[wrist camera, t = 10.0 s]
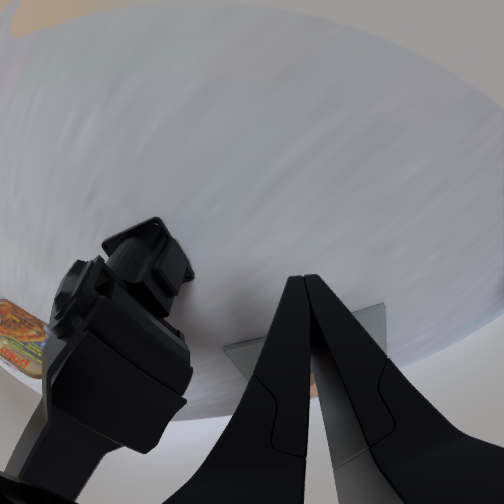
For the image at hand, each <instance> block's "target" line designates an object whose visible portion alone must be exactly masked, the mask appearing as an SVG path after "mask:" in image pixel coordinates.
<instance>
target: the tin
mask: <svg viewBox="0 0 504 504" xmlns="http://www.w3.org/2000/svg"><path fill="white" fill-rule="evenodd" d="M52 333H53V332H52V331H51V330H49V325H48V324H46V323H45V322H43V321H41V320H39V319H38V318H36V317H34V316H32V315H31V314H29V313H27V312H26V311H24V310H22V309H21V308H19V307H18V306H16V305H15V304H13V303H12V302H10V301H7V300H3V299H0V358H1V359H2V360H4V361H5V362H7V363H8V364H10V365H11V366H13V367H14V368H16V369H17V370H19V371H21V372H22V373H24V374H25V375H27V376H29V377H31V378H35V379H42V350H43V347H44V345H45V344H46V342H47V341H48V339H49V337H50V336H51V334H52Z"/></svg>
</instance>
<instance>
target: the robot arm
mask: <svg viewBox="0 0 504 504" xmlns="http://www.w3.org/2000/svg"><path fill="white" fill-rule="evenodd" d="M153 222H156V223H157V224H158V225H155V224H154V223H153ZM106 244H107V245H108V246H109V247H108V246H107V245H106ZM102 248H103V250H104V251H105V253H106V254H107V255H108V257H109V259H108V261H107V262H106V263H105V260H104V259H103V258H102V257H101V256H100V255H98V256H97V257H96V258H95V259H94V260H91V261H89V262H88V261H87V262H85V261H81V260H77V261H76V262H75V263H74V264H73V265H72V267H71V268H70V269H69V271H68V272H67V274H66V275H65V276H64V278H63V280H62V281H61V283H60V286H59V288H58V290H57V293H56V295H55V298H54V303H53V306H52V311H51V317H50V322H49V330H51V331H52V332H53V333H52V334H51V336H50V337H49V339H48V341H47V342H46V344H45V345H44V347H43V350H42V393H43V397H42V399H41V401H40V403H39V405H38V407H37V408H36V410H35V412H34V413H33V415H32V417H31V419H30V421H29V422H28V424H27V426H26V428H25V430H24V432H23V434H22V435H21V438H20V439H19V441H18V443H17V445H16V447H15V450H14V451H13V454H12V456H11V458H10V460H9V462H8V464H7V466H6V469H5V471H4V472H2V471H0V504H78V503H76V502H75V501H76V500H77V498H78V496H79V495H80V493H81V492H82V490H83V488H84V487H85V485H86V483H87V482H88V480H89V479H90V477H91V476H92V474H93V472H94V471H95V469H96V468H97V466H98V464H99V463H100V461H101V460H102V458H103V457H104V456H105V455H106V454H107V453H109V452H111V451H113V450H116V449H119V448H121V447H124V446H125V447H127V448H130V449H132V450H134V451H137V452H139V453H142V454H146V453H148V452H149V451H150V450H152V449H153V448H154V447H156V446H157V444H158V442H159V440H160V438H161V436H162V434H163V432H164V430H165V428H166V426H167V425H168V423H169V421H170V420H171V419H172V418H173V416H174V415H175V414H176V413H177V412H178V411H179V410H180V409H181V408H182V407H183V406H184V405H185V404H186V403H187V400H186V399H185V398H183V397H182V396H183V395H184V393H185V392H186V390H187V388H188V385H189V383H190V381H191V378H192V374H193V368H192V367H191V366H190V351H189V349H188V347H187V345H186V344H185V339H184V334H183V333H182V332H180V331H179V330H176V329H175V328H174V327H172V326H171V325H170V324H169V323H168V322H167V321H166V320H164V319H163V318H165V317H168V316H169V314H170V310H171V307H172V303H173V300H174V297H175V296H178V294H179V291H180V287H181V284H183V283H186V282H189V281H192V280H193V278H194V272H193V270H192V269H191V267H190V266H189V264H188V260H187V258H186V257H185V255H184V253H183V252H182V250H181V249H180V247H179V245H178V244H177V242H176V240H175V239H174V238H173V237H171V235H170V234H169V232H168V230H167V229H166V227H165V225H164V224H163V222H162V220H161V219H160V218H158V217H153V218H150V219H148V220H146V221H144V222H141V223H139V224H137V225H135V226H133V227H131V228H129V229H126V230H124V231H122V232H120V233H118V234H116V235H114V236H112V237H110V238H108V239H106V240H104V241H103V243H102ZM187 275H190V276H187ZM387 357H388V356H387V355H386V353H385V352H384V351H383V350H382V349H381V347H380V346H379V345H378V344H377V343H376V341H375V340H374V339H373V338H372V337H371V335H370V334H369V333H368V332H367V331H366V329H365V328H364V327H363V326H362V325H361V324H360V322H359V321H358V320H357V319H356V318H355V316H354V315H353V314H352V313H351V312H350V311H349V309H348V308H347V307H346V306H345V305H344V304H343V303H342V301H341V300H340V299H339V298H338V297H337V296H336V294H335V293H334V292H333V291H332V290H331V289H330V288H329V286H328V285H327V284H326V283H325V282H324V281H323V280H322V279H321V277H320V276H319V275H317V274H309V275H304V276H301V275H298V276H289V277H288V279H287V282H286V285H285V288H284V290H283V293H282V296H281V299H280V302H279V304H278V307H277V310H276V313H275V315H274V318H273V321H272V324H271V326H270V329H269V332H268V334H267V337H266V340H265V342H264V345H263V347H262V350H261V353H260V355H259V358H258V360H257V363H256V366H255V368H254V371H253V375H251V378H250V380H249V383H248V385H247V388H246V390H245V392H244V394H243V396H242V399H241V401H240V403H239V405H238V407H237V409H236V411H235V412H234V414H233V416H232V418H231V420H230V421H229V423H228V425H227V426H226V428H225V430H224V431H223V433H222V434H221V436H220V438H219V439H218V441H217V442H216V444H215V445H214V447H213V449H212V450H211V452H210V453H209V455H208V456H207V458H206V459H205V461H204V462H203V464H202V465H201V466H200V468H199V469H198V470H197V471H196V473H195V474H194V475H193V476H192V477H191V478H190V479H189V481H188V482H187V483H185V484H184V485H183V486H182V487H181V488H180V489H179V490H178V491H176V492H175V493H174V494H173V495H172V496H170V497H169V498H168V499H167V500H166V501H165V502H163V503H162V504H304V491H305V471H306V457H307V445H308V428H309V407H310V375H311V364H312V369H313V373H314V378H315V383H316V387H317V392H318V396H319V401H320V406H321V411H322V416H323V420H324V425H325V430H326V435H327V440H328V446H329V451H330V456H331V462H332V467H333V473H334V478H335V484H336V490H337V495H338V502H339V504H504V448H503V447H500V446H497V445H494V444H491V443H488V442H485V441H482V440H480V439H477V438H474V437H471V436H469V435H467V434H465V433H463V432H461V431H460V430H458V429H457V428H456V427H454V426H453V425H452V424H451V423H450V422H449V421H448V420H447V419H446V418H445V417H444V416H443V415H442V414H441V413H440V412H439V411H438V410H437V409H436V408H435V407H434V406H433V405H432V404H431V403H430V402H429V401H428V400H427V399H426V398H425V397H424V396H423V395H422V394H421V393H420V392H419V391H418V390H417V389H416V388H415V387H414V386H413V385H412V384H411V383H410V382H409V381H408V380H407V379H406V377H405V376H404V375H403V374H402V373H401V372H400V370H399V369H398V368H397V367H396V366H395V364H394V363H393V362H392V361H391V359H390V358H387Z"/></svg>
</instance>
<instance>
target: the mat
mask: <svg viewBox="0 0 504 504" xmlns="http://www.w3.org/2000/svg"><path fill="white" fill-rule="evenodd" d="M352 314H353V315H354V316H355V318H356V319H357V320H358V321H359V322H360V324H361V325H362V326H363V327H364V328H365V329H366V331H367V332H368V333H369V334H370V335H371V337H372V338H373V339H374V340H375V341H376V343H377V344H378V345H379V346H380V347H381V349H382V350H383V351H384V352H385V353H386V355H387V339H386V308H385V304H384V302H383V303H380V304H378V305H375V306H372V307H369V308H366V309H363V310H360V311H357V312H353V313H352ZM265 340H266V337H264V338H260V339H255V340H251V341H247V342H242V343H237V344H233V345H228V346H224V349H223V351H224V352H225V353H226V355H227V356H228V357H229V358H230V359H231V361H232V362H233V363H234V364H235V365H236V367H237V368H238V369H239V370H240V371H241V372H242V374H243V375H244V376H245V377H246V378H247V379H248V381H249V380H250V378H251V375H253V371H254V368H255V366H256V363H257V360H258V358H259V355H260V353H261V350H262V347H263V345H264V342H265ZM311 373H313V369H312V364H311Z"/></svg>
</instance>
